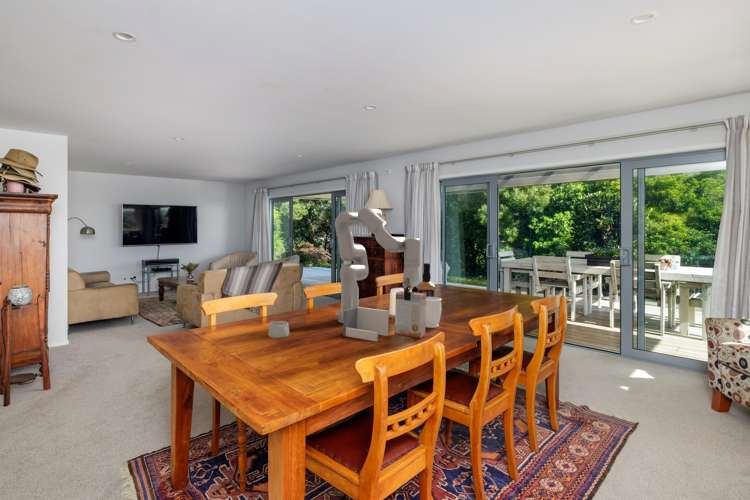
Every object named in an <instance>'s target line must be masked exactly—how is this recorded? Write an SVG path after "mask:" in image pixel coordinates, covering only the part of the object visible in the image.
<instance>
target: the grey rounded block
mask: <svg viewBox="0 0 750 500" xmlns="http://www.w3.org/2000/svg"><path fill="white" fill-rule="evenodd" d="M267 334H268V335H267V336H268V337H269V338H272V339H283V338H287V337H289V336H290V326H289V322H287V321H285V320H278V321H277V320H276V321H271V322H270V323H269V324H268V332H267Z"/></svg>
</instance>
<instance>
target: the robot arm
mask: <svg viewBox="0 0 750 500" xmlns="http://www.w3.org/2000/svg"><path fill="white" fill-rule="evenodd" d="M334 227H335V233H336V236H337V243H338V251H339V256H340V259H341V260H342V261H344V262H351V263H347V264H343V266H342V267H340V269H339V278H340V279H339V280H340V289H341V291H340V296H341V297H340V298H341V299H340V312H339V311H336V312H335V315H334V316H335V317H338V318H337V322H339V323H341V324H343V314H344V311H345V310H348V309H351V308H353V307H359V302H360V301H359V300H360V299H359V295H360V294H359V289H360V288H359V285H358V282H357V281H363V280H365V279H366V278H367V277H368V275H369V272H370V271H369V269H370V268H369V263H368V255H367V251H366V248H365V247H364V245H362V244H360V243H355V241H354V235H353V232H352V231H351V229H350V228H363V227H366V228H367V229H368V230H369V231H371V232H372V233H373V234H374V238H375V240H376V242H377V243H378V245H380V246H381V247H382V248H383V249H385V250H386V251H387V252H388V253H389V252H390V253H403V252H404V253H403V254H404V257H403V259H404V260H403V261H404V262H403V264H404V265H403V266H404V267H403V274H402V287H403V291H404V300H408V301H410V300H411V292H415V293H418V285H419V283H420V271H419V270H420V269H419V267H420V266H421V264H420V263H421V239H420V238H419V237H406V236H392V234H390V233H389V232H387V227H388V223H387V221H386V220H385V219H384V217H383V212H382V211H381V210H380V209H379V208H377V207H367V206H365V207H361V208H360V209H359V210H358V211H351V210H346V211H342V212H340V213H338V214H337V216H336V217H335V221H334ZM352 262H353V263H352Z"/></svg>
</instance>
